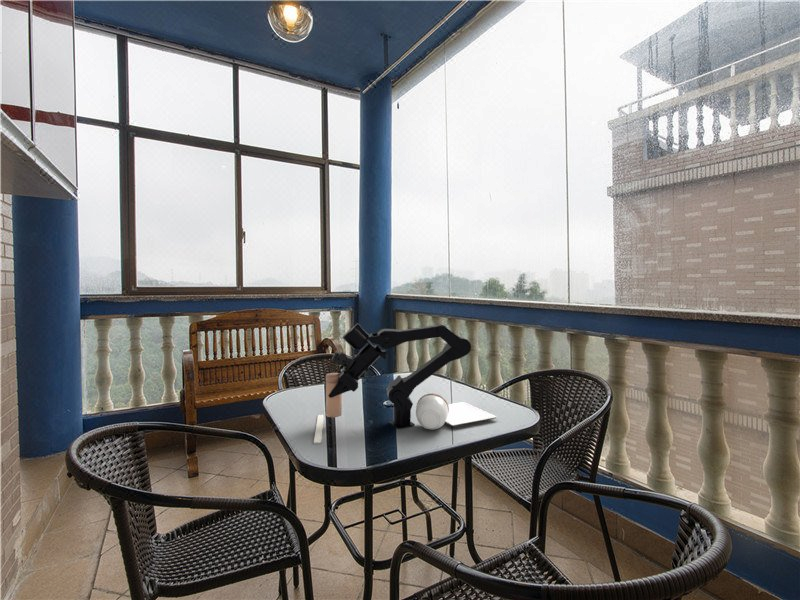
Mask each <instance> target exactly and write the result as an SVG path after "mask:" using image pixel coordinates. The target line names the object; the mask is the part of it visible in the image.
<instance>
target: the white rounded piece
mask: <svg viewBox="0 0 800 600" xmlns="http://www.w3.org/2000/svg"><path fill="white" fill-rule="evenodd" d="M448 414H449V407H448V402H447V400H446V399H445V398H444V397H443V396H441V395H440V394H437V393H427V394H424V395H422V396H421V397H420V398H419V399H418V401H417V403H416V407H415V417H416V420H417V422H418V423H419V425H420V426H421V427H423V428H424V429H427V430H431V431H434V430H437V429H440V428H441V427H443V426H444V425H445V424H446V420H447V417H448Z"/></svg>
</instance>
